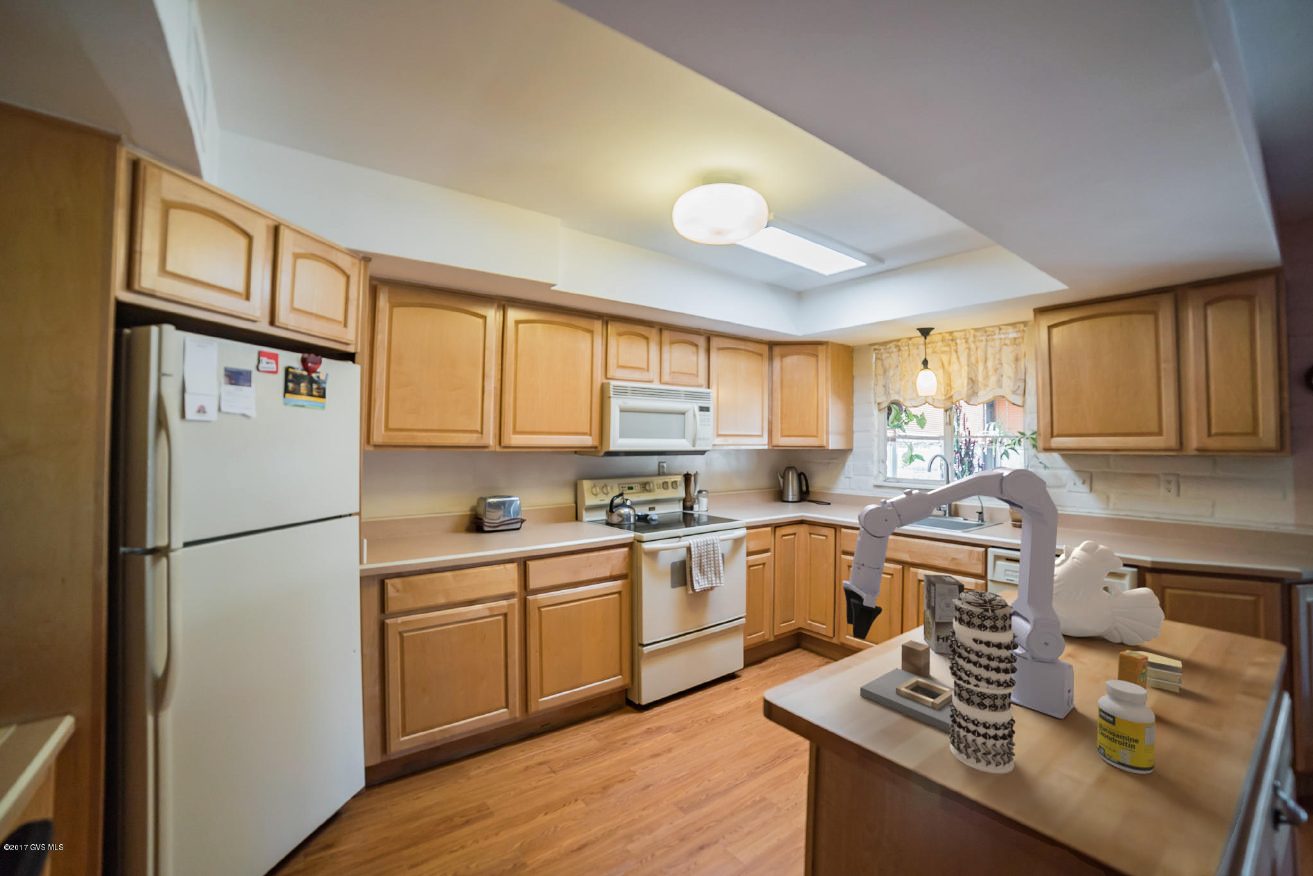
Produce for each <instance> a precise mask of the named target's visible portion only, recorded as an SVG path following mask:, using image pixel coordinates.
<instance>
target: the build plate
mask: <svg viewBox="0 0 1313 876" xmlns="http://www.w3.org/2000/svg"><path fill="white" fill-rule="evenodd" d="M859 689H860V690H859V691H860V692H859V695H860V696H862V697H864V698H866V699H868V700H871V701H872V702H873V701H874V702H876V703H879V704H880V705H883V706H885V707H888V708H889V709H892V710H894V711H896V712H898V713H899V712H900V713H901V714H904V715H906V716H909V717H911V718H913V719H917V720H918V721H921V722H923V723H926V724H927V725H930V726H932V727H935V728H937V729H939V730H941V731H944V732H947V733H949V734H951V733H950V729H949V725H950V724H951V723H952V722H951V718H950V714H951V713H952V712H951V708H950V704H952V692H953V691H954V687H950V686H947V685H945V684H942V683H939V682H937V681H935V680H930V679H929V678H926V677H925V678H923V677H920V676H918V675H915V674H912V673H909V672H906V671H904V670H901V669H900V668H898V667H895V668H894V669H892V670H890V671H889V672H887V673H884V674H882V675H881V676H879V677H877V678H875V679H873V680H871V681H869V682H867V683H865V684H864V685H862V686H860V688H859Z"/></svg>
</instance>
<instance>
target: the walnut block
mask: <svg viewBox="0 0 1313 876" xmlns="http://www.w3.org/2000/svg"><path fill="white" fill-rule="evenodd" d="M900 668H901V670H904V671H906V672H909V673H912V674H915V675H918V676H920V677H923V678H926V677H928V676H930V675H931V670H930V669H931V647H930V646H929V644H924V643H922V642H918V641H915V640H912V639H911V640H908V641H906V642H905V643H902V644H901V667H900Z"/></svg>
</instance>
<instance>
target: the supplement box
mask: <svg viewBox="0 0 1313 876" xmlns="http://www.w3.org/2000/svg"><path fill="white" fill-rule="evenodd" d="M1147 667H1148V657H1147V656H1145V655H1143V654H1140V653H1137V652H1136V651H1133V650H1130V649H1125V651H1120V652H1119V653H1118V667H1117V680H1121V681H1126V682H1130V683H1133V684H1136V685H1138V686H1141V687H1143V688H1144V689H1145V690H1146V691H1147V686H1146V685H1147ZM1146 703H1147V702H1145V704H1146Z"/></svg>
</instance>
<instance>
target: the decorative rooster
mask: <svg viewBox="0 0 1313 876" xmlns="http://www.w3.org/2000/svg"><path fill="white" fill-rule="evenodd" d="M1123 566H1124V563H1123V561H1122V559H1121V558H1120V557H1118V556H1116V553H1115V552H1114V551H1113V549H1111V548H1109V547H1108V546H1106V545H1101V544H1098V542H1095V541H1093V540H1086V541H1085V540H1084V541H1083V542H1082V543H1081V544H1080V545H1079V546H1077V547H1074V546H1071V545H1068V544H1064V545H1063V553H1062V554H1060V556H1059V557H1058V558H1057V559H1055V570H1054V586H1053V602H1052V606H1053V609H1054V611H1055V613H1056V615H1057V616H1058V618H1059V620H1060V631H1061V634H1062V635H1065V636H1070V637H1077V638H1078V637H1080V638H1081V637H1083V638H1084V637H1102V638H1104V639H1105V640H1107V641H1109V642H1111V643H1113V644H1120V643H1123V644H1125V645H1126V646H1133V647H1134V646H1137V645H1140V644H1143V643H1145V642H1151V641H1152V640H1153V639H1158V638H1159V637H1160V636H1161V634H1162V629H1161V627H1163V625H1164V620H1165V619H1166V617H1165V613H1164V611H1163V609H1162V608H1161V606H1160V600H1159V598H1158V596H1157V595H1156V594H1155V593H1154V591H1153V589H1151V588H1148V587H1139V588H1134V589H1133V588H1132V589H1129V590H1125V591H1122V589H1121V587H1120V586H1119V585H1118V584H1117V583H1116V582H1113V581H1110V580H1105V578H1107V576H1108V574H1109V573H1111V572H1116V571H1119V570H1121V569H1122V568H1123ZM1105 587H1107V588H1108V587H1109V588H1111V589H1112V590H1113V591H1114V593H1112V594H1110V593H1109V592H1107V591H1106V590H1104V588H1105Z"/></svg>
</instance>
